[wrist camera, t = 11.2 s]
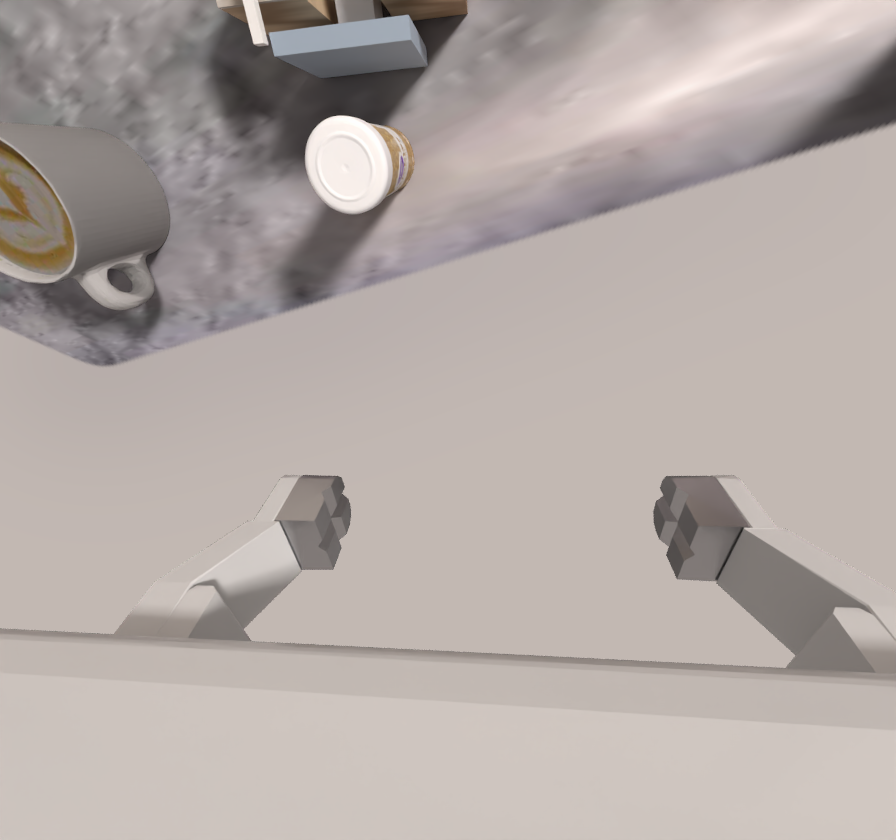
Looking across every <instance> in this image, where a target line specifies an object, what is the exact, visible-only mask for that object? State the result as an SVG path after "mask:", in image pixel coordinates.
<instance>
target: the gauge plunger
mask: <svg viewBox="0 0 896 840" xmlns="http://www.w3.org/2000/svg"><path fill="white" fill-rule="evenodd" d="M243 4H244V8H245V12H246V16H247V20H248V24H249V28H250V32H251V36H252V39H253V43H254V45H256V46H258V47H260V46H268V41H267V36H266V32H265V28H264V24H263V20H262V16H261V11H260V7H259V3H258V0H243ZM335 4H336V11H337V17H338V23H339V24H332V25H325V26H317V27H309V28H302V29H294V30H286V31H278V32H271V33H269V36H270V40H271V44H272V49H273V53H274V57H277V58H279V59H281V60H283V61H285V62H287V63H289V64H292V65H294V66H296V67H298V68H300V69H302V70H304V71H306V72H309V73H311V74H313V75H315V76H317V77H319V78H329V77H338V76H346V75H355V74H364V73H372V72H381V71H390V70H398V69H407V68H416V67H424V66H428V65H427V52H426V46H425V44H424V43H423V41H422V39H421V37H420V35H419V33H418V31H417V29H416V28H415V26H414V24H413V22H412V20H411V18H410V16H409V15H402V16H394V17H386V18H383V12H382V4H381V0H335Z"/></svg>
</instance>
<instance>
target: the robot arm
mask: <svg viewBox="0 0 896 840" xmlns="http://www.w3.org/2000/svg"><path fill="white" fill-rule="evenodd" d="M660 489H661V491H662V493H663V495H664V496H663V497H661V498H660V499H659V500H657V501H656V503H655V507H654V525H655V529H656V532H657V535H658V537H659V539H660V540H661V541H662V542H664V543H665V544H666V545H667V546H669V548H668V551H667V554H666V556H667V558H668V560H669V562H670V564H671V567H672V569H673V571H674V573H675V576H676V578H677V579H682V580H683V579H684V580H701V581H717V584H718V585H719V586H720V587H721V588H722V589H723V590H724V591H725V592H727V593H728V594H729V595H730V596H731V597H732V598H733V599H734V600H735V601H736V602H738V603H739V604H740V605H741V606H742V607H743V608H744V609H745V610H746V611H747V612H749V613H750V614H751V615H752V616H753V617H754V618H755V619H756V620H757V621H758V622H760V623H761V624H762V625H763V626H764V627H765V628H766V629H767V630H768V631H769V632H771V633H772V634H773V635H774V636H775V637H776V638H777V639H778V640H779V641H780V642H782V643H783V644H784V645H785V646H786V647H787V648H788V649H789V650H791V652H793V653H794V654H795V655H796V656H795V657H794V658H793V659H792V661H791V662H790V663H789V664H788V665H787V667H786V668H772V667H753V666H733V665H714V664H694V663H674V662H673V663H672V662H652V661H634V660H614V659H594V658H574V657H553V656H533V655H514V654H513V655H512V654H492V653H474V652H454V651H433V650H413V649H393V648H373V647H354V646H334V645H315V644H295V643H275V642H255V641H251V640H250V638H249V637H248V635H247V634H246V632H245V631H244V628H245V627H246V626H247V625H248V624H249V623H250V622H251V621H252V620H253V619H254V618H255V617H256V616H257V615H258V614H259V613H260V612H261V611H262V610H263V609H264V608H265V607H266V606H267V605H268V604H269V603H270V602H271V601H272V600H273V599H274V598H275V597H276V596H277V595H278V594H279V593H280V592H281V591H282V590H283V589H284V588H285V587H286V586H287V585H288V584H289V583H290V582H291V581H292V580H293V579H294V578H295V577H296V576H297V575H298V574H299V573H300V572H301V570H305V569H307V570H308V569H310V570H311V569H312V570H313V569H314V570H315V569H318V570H319V569H320V570H321V569H323V570H324V569H325V570H327V569H329V570H331V569H332V570H333V569H334V566H335V564H336V561H337V558H338V555H339V553H340V550H341V545H340V542H339V540H340V539H341V538H342V537H343V536H344V535H346V534H347V531H348V528H349V525H350V518H351V509H350V503H349V500H348V499H347V498H346V497H345V496H344V495H343V494H342V492H343V490H344V483H343V481H342V478H341V477H339V476H316V475H315V476H314V475H303V476H297V475H285V476H283V477H281V479H279V481H278V483H277V484H276V486H275V487H274V489H273V490H272V492H271V494H270V495H269V497H268V498H267V500H266V501H265V503H264V505H263V506H262V508H261V509H260V511H259V512H258V514H257V515H256V517H255V519H254V520H253V521H247V522H245V523H243V524H242V525H240V526H239V527H237V528H236V529H234V530H233V531H231V532H230V533H228V534H227V535H225V536H224V537H222V538H221V539H219V540H218V541H216V542H214V543H213V544H211V545H210V546H208V547H207V548H206V549H204V550H202V551H201V552H199V553H198V554H196V555H195V556H193V557H192V558H190V559H189V560H187V561H186V562H184V563H182V564H181V565H179V566H178V567H176V568H175V569H173V570H172V571H170V572H169V573H167V574H166V575H164V576H163V577H161V578H160V579H158V580H156V581H155V582H154V583H153V584H152V585H151V587H150V588H149V589H148V591H147V592H146V593H145V595H144V596H143V597H142V598H141V600H140V601H139V602H138V603H137V605H136V606H135V607H134V609H133V610H132V611H131V612H130V614H129V615H128V616H127V618H126V619H125V620H124V621H123V623H122V624H121V625H120V627H119V628H118V629H117V631H116V632H115V633H114V634H99V633H97V634H96V633H79V632H58V631H39V630H19V629H1V628H0V840H896V592H895V591H893V590H891V589H889V588H888V587H886V586H884V585H882V584H881V583H879V582H877V581H876V580H874V579H872V578H870V577H869V576H867V575H865V574H863V573H862V572H860V571H858V570H856V569H855V568H853V567H851V566H850V565H848V564H846V563H844V562H843V561H841V560H839V559H837V558H835V557H834V556H832V555H831V554H829V553H827V552H825V551H824V550H822V549H820V548H818V547H817V546H815V545H813V544H811V543H810V542H808V541H806V540H804V539H803V538H801V537H799V536H798V535H796V534H794V533H792V532H790V531H789V530H787V529H784V528H783V529H782V528H777V526H776V525H775V524H774V522H773V521H772V520H771V519H770V517H769V516H768V515H767V513H766V512H765V511H764V510H763V508H762V507H761V506H760V504H759V503H758V502H757V501H756V499H755V498H754V497H753V495H752V494H751V493H750V491H749V490H748V489H747V488H746V486H745V485H744V484H743V483H742V481H741V480H740V479H739V478H738V477H736V476H734V475H721V476H666V477H665V478H664V479H663V481H662V484H661V487H660Z"/></svg>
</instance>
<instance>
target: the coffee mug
mask: <svg viewBox="0 0 896 840" xmlns="http://www.w3.org/2000/svg"><path fill="white" fill-rule="evenodd" d="M169 227H170V214H169V209H168V204H167V200H166V197H165V195H164V192H163V190H162V187H161V185H160V184H159V182H158V180H157V178H156V177H155V175H154V174H153V172H152V171H151V169H150V168H149V167H148V165H147V164H146V163H145V162H144V161H143V159H142V158H141V157H140V156H139V155H138V154H137V153H136V152H135V151H134V150H133V149H131V148H130V147H129V146H128V145H126V144H125V143H124V142H122V141H120V140H119V139H117V138H115V137H114V136H112V135H110V134H107V133H105V132H103V131H100V130H96V129H91V128H78V127H63V126H48V125H33V124H17V123H2V122H0V271H1V272H3V273H5V274H6V275H9V276H11V277H13V278H16V279H19V280H23V281H26V282H30V283H39V284H48V283H54V282H58V281H63V280H65V279H68V278H71V277H72V278H74V279H75V280H77V281H78V283H79V284H80V285H81V286H82V287H83V288H84V290H85V291H86V292H87V293H88V294H89V295H90V296H91V297H92V298H93V299H94V300H95V301H96V302H98V303H99V304H101V305H103V306H104V307H107V308H110V309H113V310H128V309H132V308H135V307H138V306H140V305H142V304H144V303H145V302H146V301H148V300H149V299H150V298H151V297H152V295H153V293H154V288H155V286H154V282H153V278H152V276H151V273H150V271H149V269H148V267H147V264H146V256H147V255H148V254H151V253H153V252H155V251H156V250H158V249H159V248H160V247H161V246H162V245H163V244H164V242H165V241H166V238H167V236H168V232H169ZM109 269H116V270H120V271H121V272H123V273H124V274H126V275H127V276H128V278H129V279H130V280H131V282H132V285H133V288H132V291H131V292H122V291H120V290H118V289H117V288H116V287H114V286H113V285H112V284H111V283H110V281H109V279H108V278H107V272H108V270H109Z"/></svg>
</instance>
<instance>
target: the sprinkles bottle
mask: <svg viewBox="0 0 896 840" xmlns="http://www.w3.org/2000/svg"><path fill="white" fill-rule="evenodd" d="M305 166H306V171H307V175H308V178H309V181H310V183H311V185H312V187H313V189H314V191H315V192H316V194H317V195H318V196H319V197H320V199H321V200H322V201H323V202H324V203H325V204H327V205H328V206H329V207H331V208H333V209H334V210H336V211H339V212H341V213H345V214H361V213H364V212H366V211H369V210H371V209H373V208H374V207H376V206H377V205H378V204H380V203H381V202H382V200H383V199H384V198H385V197H387V196H389V195H391V194H392V193H394V192H395V191H397V190H399V189H401V188H403V187H404V186H405V185H406V184H407V182H408V181H409V180H410V178H411V175H412V173H413V170H414V155H413V151H412V148H411V145H410V143H409V141H408V139H407V138H406V137H405V136H404V135H403V134H402V133H401V132H400V131H399V130H397V129H395V128H393V127H390V126H386V125H385V126H381V125H377V124H371V123H367V122H365V121H364V120H361V119H359V118H355V117H351V116H333V117H330V118H327V119H325V120H324V121H322V122H321V123H319V124H318V125H317V126H316V127H315V129H314V130H313V131H312V133H311V135H310V137H309V139H308V141H307V145H306V150H305Z"/></svg>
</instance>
